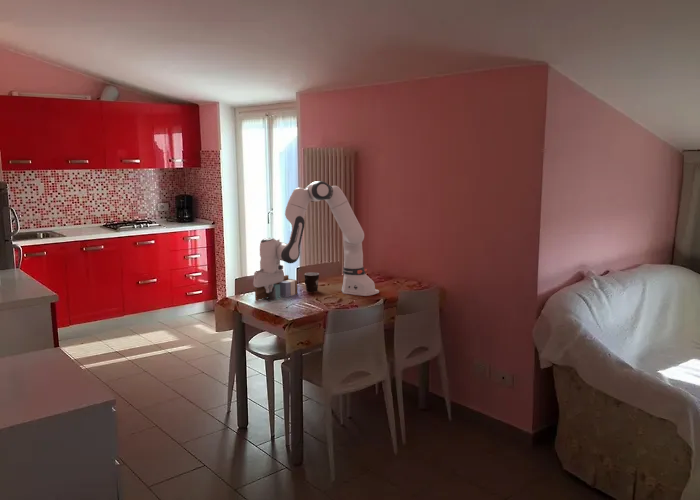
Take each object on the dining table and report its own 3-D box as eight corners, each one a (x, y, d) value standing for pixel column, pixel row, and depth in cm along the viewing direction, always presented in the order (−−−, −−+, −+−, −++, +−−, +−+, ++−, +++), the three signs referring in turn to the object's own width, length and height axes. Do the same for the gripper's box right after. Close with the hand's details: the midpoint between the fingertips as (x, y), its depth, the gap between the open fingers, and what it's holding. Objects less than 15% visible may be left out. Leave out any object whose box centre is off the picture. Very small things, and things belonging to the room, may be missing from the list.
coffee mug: (313, 288, 355) (313, 271, 353) (322, 290, 348) (322, 274, 347) (297, 291, 348) (297, 274, 346) (305, 293, 341) (305, 276, 339)
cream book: (295, 294, 340) (295, 280, 338) (291, 295, 337) (290, 281, 336) (289, 293, 343) (288, 279, 341) (284, 294, 340) (284, 280, 339)
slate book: (290, 295, 337) (290, 282, 335) (286, 297, 334) (285, 283, 332) (284, 294, 340) (283, 280, 338) (279, 295, 337) (279, 282, 335)
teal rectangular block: (280, 298, 330) (280, 284, 329) (275, 299, 327) (275, 285, 326) (273, 297, 333) (273, 283, 332) (269, 298, 330) (269, 284, 329)
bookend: (275, 299, 327) (275, 287, 326) (269, 301, 324) (269, 289, 322) (269, 298, 330) (269, 286, 329) (263, 300, 327) (262, 287, 325)
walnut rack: (297, 293, 341) (297, 276, 339) (266, 302, 322) (265, 284, 320) (286, 291, 346) (286, 274, 345) (255, 300, 327) (254, 282, 325)
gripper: (258, 271, 313) (259, 296, 316) (285, 265, 329) (286, 289, 332) (250, 270, 317) (251, 295, 320) (277, 264, 333) (277, 288, 336)
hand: (269, 292), depth 326 cm, fingers closed
